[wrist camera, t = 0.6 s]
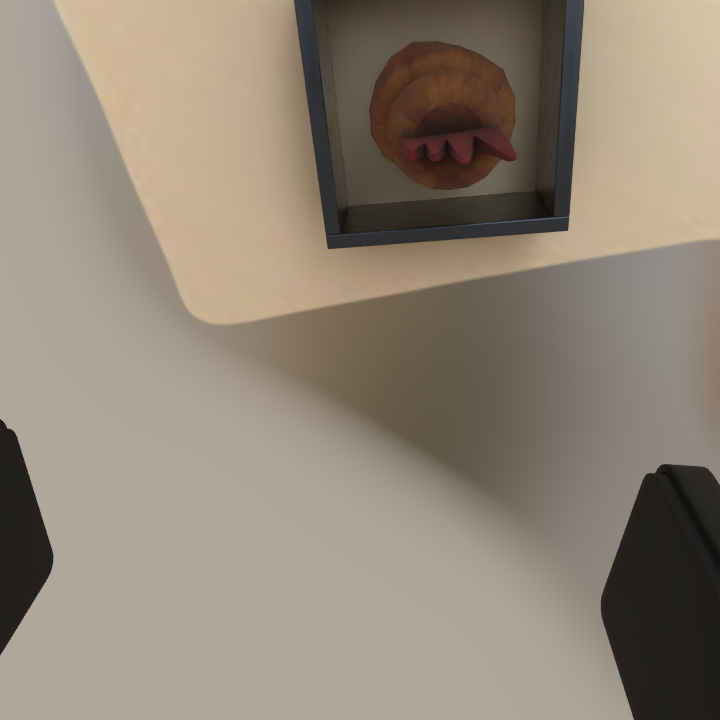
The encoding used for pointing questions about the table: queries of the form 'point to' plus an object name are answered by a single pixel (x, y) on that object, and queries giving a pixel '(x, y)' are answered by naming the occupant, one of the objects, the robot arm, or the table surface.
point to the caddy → (464, 213)
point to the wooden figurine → (443, 114)
